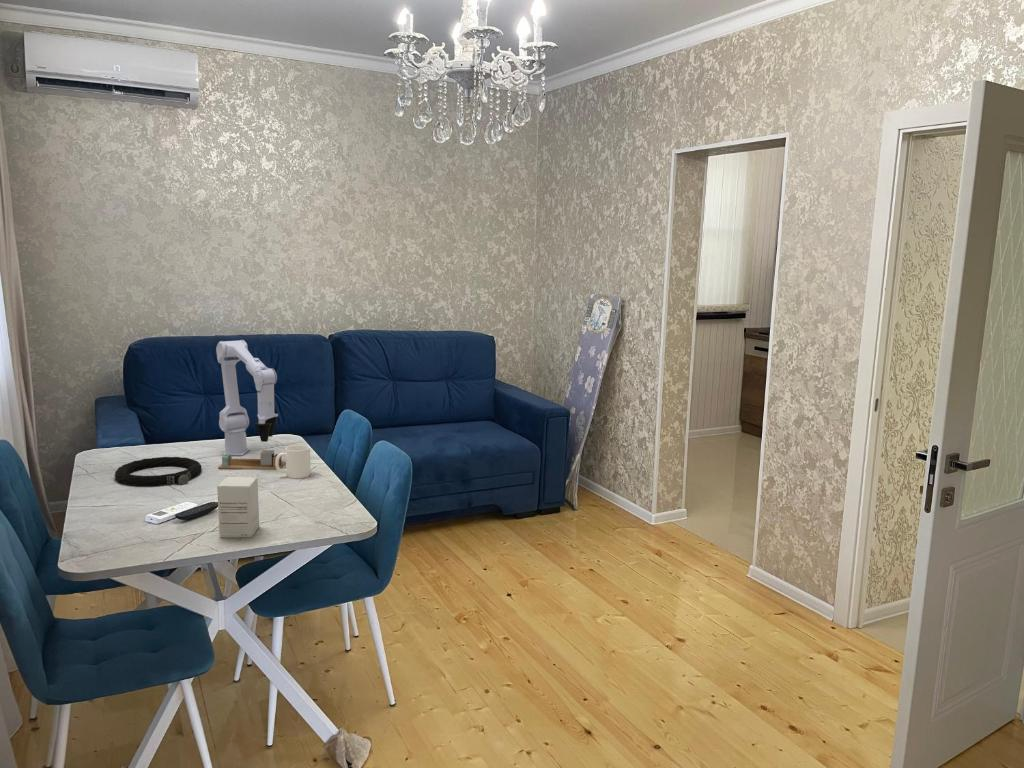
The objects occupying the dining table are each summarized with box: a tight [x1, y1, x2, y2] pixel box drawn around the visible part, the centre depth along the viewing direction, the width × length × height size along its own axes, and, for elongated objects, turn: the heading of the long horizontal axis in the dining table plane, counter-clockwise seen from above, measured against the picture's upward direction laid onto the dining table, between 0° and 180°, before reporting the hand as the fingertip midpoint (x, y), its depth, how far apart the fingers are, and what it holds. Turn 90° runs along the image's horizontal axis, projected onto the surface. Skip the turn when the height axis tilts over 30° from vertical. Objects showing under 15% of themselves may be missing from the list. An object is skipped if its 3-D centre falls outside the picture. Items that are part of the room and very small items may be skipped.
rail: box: [217, 453, 286, 471], centre depth 275 cm, size 8×22×4 cm, turn 95°
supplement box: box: [216, 476, 260, 538], centre depth 210 cm, size 9×9×15 cm
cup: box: [275, 444, 311, 480], centre depth 264 cm, size 8×12×10 cm
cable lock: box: [114, 456, 203, 487], centre depth 261 cm, size 28×4×30 cm
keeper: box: [259, 449, 275, 466], centre depth 275 cm, size 4×4×5 cm
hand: (267, 438), depth 274 cm, fingers open, 7 cm apart
